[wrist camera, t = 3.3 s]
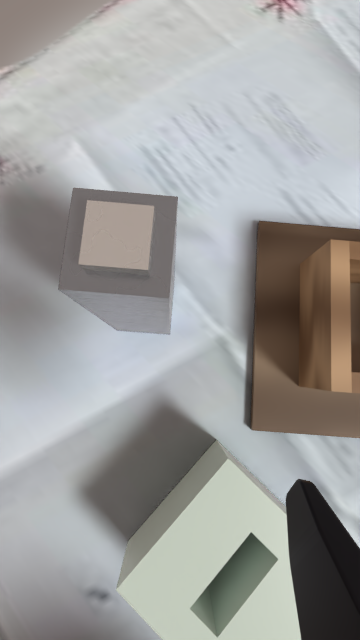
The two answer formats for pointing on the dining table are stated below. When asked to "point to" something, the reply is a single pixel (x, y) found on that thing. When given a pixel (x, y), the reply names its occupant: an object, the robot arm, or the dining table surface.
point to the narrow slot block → (213, 559)
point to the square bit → (122, 258)
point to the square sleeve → (307, 330)
